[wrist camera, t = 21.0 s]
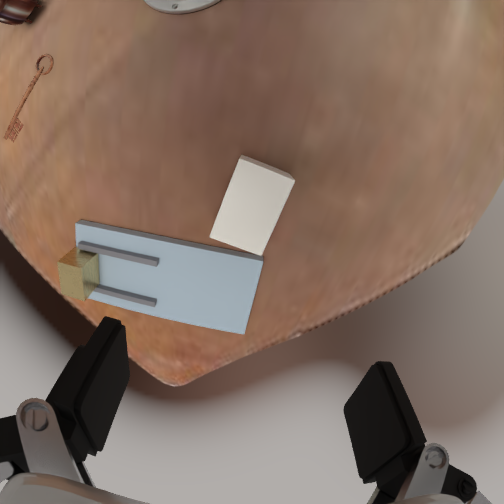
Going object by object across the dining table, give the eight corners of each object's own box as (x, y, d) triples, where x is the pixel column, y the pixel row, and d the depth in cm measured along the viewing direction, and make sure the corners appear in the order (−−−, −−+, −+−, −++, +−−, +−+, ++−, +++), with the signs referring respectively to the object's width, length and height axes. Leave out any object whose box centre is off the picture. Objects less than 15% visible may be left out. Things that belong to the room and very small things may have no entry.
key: (19, 150, 30) (65, 67, 26) (15, 151, 30) (62, 66, 25) (2, 131, 28) (45, 50, 24) (-2, 132, 27) (42, 50, 23)
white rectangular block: (241, 154, 32) (239, 158, 27) (289, 173, 33) (295, 180, 28) (215, 222, 35) (209, 237, 30) (260, 239, 36) (261, 256, 31)
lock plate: (80, 219, 34) (71, 225, 32) (263, 256, 37) (263, 265, 34) (84, 290, 39) (77, 299, 37) (244, 327, 41) (243, 338, 39)
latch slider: (75, 246, 34) (57, 261, 30) (98, 252, 35) (81, 268, 30) (77, 277, 36) (61, 293, 32) (99, 283, 37) (84, 301, 32)
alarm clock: (11, 13, 18) (-45, 2, 5) (28, -9, 17) (-26, -27, 3) (33, 31, 22) (-32, 18, 8) (52, 6, 20) (-10, -16, 7)
